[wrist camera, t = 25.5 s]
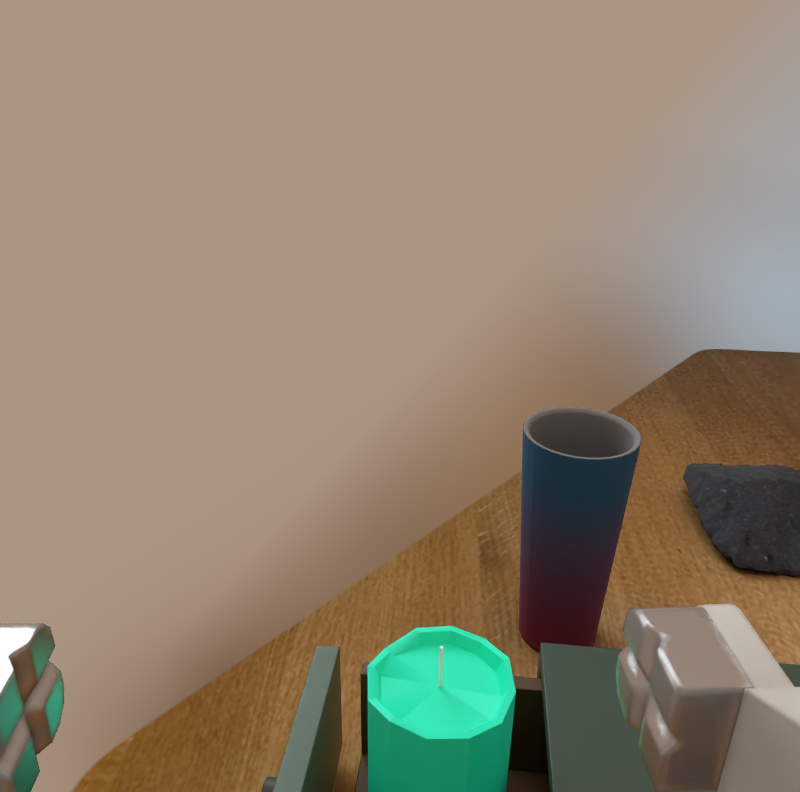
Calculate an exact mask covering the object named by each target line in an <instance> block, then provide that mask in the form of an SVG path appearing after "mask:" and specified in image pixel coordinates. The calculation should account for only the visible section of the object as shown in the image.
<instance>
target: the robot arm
mask: <svg viewBox="0 0 800 792" xmlns="http://www.w3.org/2000/svg"><path fill="white" fill-rule="evenodd" d="M623 632H624V634H625V637H626V639H627V641H628V643H629V644H628V645H627V646H626V647H625V648H624V649H623V650H622V651H621V652H620V653H619V654H618V661H617V668H616V682H617V693H618V697H619V702H620V706H621V709H622V711H623V714H624V717H625V719H626V722H627V723H628V724H630V725H631V726H632V727H633V728H635V729H636V730H637V731H638V732H640V739H639V744H638V751H639V754H640V756H641V758H642V761H643V763H644V766H645V768H646V770H647V773H648V775H649V778H650V780H651V782H652V785H653V787H654V790H655V791H679V790H717V792H800V687H794V685H793V684H792V682H791V681H790V679H789V678H788V677H787V675H786V674H785V672H784V671H783V670H782V668H781V667H780V665H779V664H778V662H777V661H776V660H775V658H774V657H773V655H772V654H771V653H770V651H769V650H768V648H767V647H766V645H765V644H764V643H763V641H762V640H761V638H760V637H759V635H758V634H757V633H756V631H755V630H754V628H753V627H752V626H751V624H750V623H749V621H748V620H747V618H746V617H745V616H744V614H743V613H742V611H741V610H740V609H739V608H738V607H737V606H735V605H733V604H714V605H698V606H683V607H652V608H629V610H628V612H627V614H626V616H625V620H624V625H623ZM54 647H55V644H54V639H53V636H52V632H51V629H50V627H49V626H47V625H45V624H43V623H41V624H39V623H37V624H0V792H31V790H32V787H33V785H34V783H35V781H36V778H37V776H38V774H39V772H40V770H39V766H38V762H37V758H36V755H37V754H38V753H40V752H41V751H42V750H43V749H44V748H46V747H47V746H48V745H49V744H50V743H52V742H53V739H54V737H55V734H56V732H57V730H58V727H59V725H60V720H61V715H62V710H63V704H64V684H63V679H62V674H61V671H60V670H59V669H58V668H57V667H56V666H54V665H53V664H52V663H51V662H50V661H49V658H50V656H51V653H52V652H53V650H54Z"/></svg>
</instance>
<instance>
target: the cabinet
mask: <svg viewBox="0 0 800 792" xmlns="http://www.w3.org/2000/svg"><path fill="white" fill-rule="evenodd" d="M621 651H622V650H621V649H610V648H598V647H587V646H575V645H564V644H553V643H541V645H540V654H539V655H540V656H539V663H538V672H537V679H541V681H542V694H543V708H544V721H545V734H546V747H547V760H548V774H549V787H550V792H717V790H679V791H655V790H654V787H653V785H652V782H651V780H650V778H649V775H648V773H647V770H646V768H645V766H644V763H643V761H642V758H641V756H640V754H639V751H638V744H639V739H640V732H638V731H637V730H636V729H635V728H633V727H632V726H631V725H630V724H628V723H627V722H626V719H625V717H624V714H623V711H622V709H621V706H620V702H619V697H618V693H617V682H616V668H617V661H618V654H619V653H620V652H621ZM778 664H779V665H780V667H781V668H782V670H783V671H784V672H785V674H786V675H787V677H788V678H789V679H790V681H791V682H792V684H793V685H794V687H800V665H792V664H781V663H778Z"/></svg>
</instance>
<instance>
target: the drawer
mask: <svg viewBox="0 0 800 792" xmlns="http://www.w3.org/2000/svg"><path fill="white" fill-rule="evenodd" d="M369 664H370V663H363V666H362V670H361V737H362V756H361V761H360V766H359V771H358V777H357V782H356V787H355V792H368V678H367V666H368V665H369ZM513 680H514V685H515V690H516V696H515V706H514V716H513V726H512V736H511V746H510V756H509V766H508V776H507V786H506V792H550V787H549V774H548V760H547V747H546V734H545V721H544V708H543V694H542V681H541V679H537V678H526V677H515V676H513ZM341 747H342V719H341V682H340V648H339V647H333V646H322V645H317V646H316V649H315V653H314V656H313V659H312V662H311V666H310V669H309V672H308V676H307V679H306V682H305V686H304V689H303V692H302V696H301V699H300V702H299V706H298V709H297V712H296V716H295V719H294V722H293V726H292V729H291V732H290V736H289V739H288V742H287V746H286V749H285V752H284V756H283V759H282V762H281V766H280V769H279V772H278V776H277V778H275V777H267V778H266V780H265V782H264V784H263V788H262V792H332V787H333V783H334V778H335V774H336V769H337V765H338V760H339V756H340V751H341Z"/></svg>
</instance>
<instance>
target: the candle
mask: <svg viewBox="0 0 800 792" xmlns="http://www.w3.org/2000/svg"><path fill="white" fill-rule="evenodd" d="M367 678H368V792H506V786H507V776H508V766H509V756H510V746H511V736H512V726H513V716H514V706H515V696H516V690H515V685H514V680H513V675H512V670H511V665H510V660H509V658H508V657H507V656H506V655H505V654H504V653H502V652H501V651H500V650H499V649H497V648H496V647H495V646H494V645H492V644H491V643H490V642H489V641H487V640H486V639H485V638H482V637H479V636H477V635H474V634H472V633H469V632H466V631H464V630H461V629H459V628H456V627H453V626H442V627H427V628H415V629H414V630H412V631H411V632H409V633H408V634H406V635H405V636H403V637H402V638H400V639H398V640H397V641H395V642H394V643H392V644H391V645H389V646H388V647H386V648H385V649H384V650H383V651H382V652H381V653H380V654H379V655H378V656H377V657H376V658H375V659H374V660H373V661H372V662H371V663H370V664H369V665H368V666H367Z"/></svg>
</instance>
